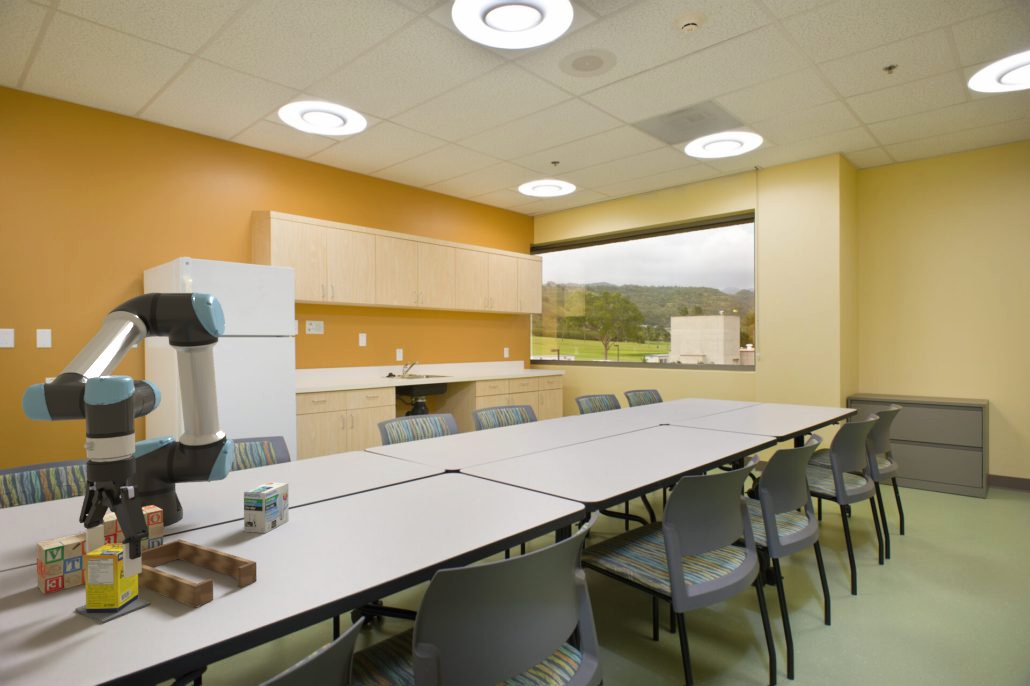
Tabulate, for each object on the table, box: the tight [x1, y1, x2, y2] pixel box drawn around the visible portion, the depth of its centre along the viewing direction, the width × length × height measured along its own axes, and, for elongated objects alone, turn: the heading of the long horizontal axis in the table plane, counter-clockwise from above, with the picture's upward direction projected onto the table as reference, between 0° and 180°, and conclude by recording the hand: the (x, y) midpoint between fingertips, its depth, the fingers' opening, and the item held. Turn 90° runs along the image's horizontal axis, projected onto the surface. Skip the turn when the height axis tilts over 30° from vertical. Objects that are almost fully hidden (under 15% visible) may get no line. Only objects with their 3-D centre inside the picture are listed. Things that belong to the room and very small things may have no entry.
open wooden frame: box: [138, 539, 258, 608], centre depth 117 cm, size 28×13×4 cm, turn 61°
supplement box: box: [85, 544, 139, 613], centre depth 105 cm, size 6×6×11 cm
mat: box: [75, 597, 151, 625], centre depth 105 cm, size 10×8×1 cm
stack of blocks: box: [36, 505, 164, 595], centre depth 120 cm, size 21×6×12 cm, turn 141°
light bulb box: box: [243, 481, 290, 534], centre depth 150 cm, size 11×7×11 cm, turn 168°
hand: (113, 567), depth 105 cm, fingers open, 13 cm apart
